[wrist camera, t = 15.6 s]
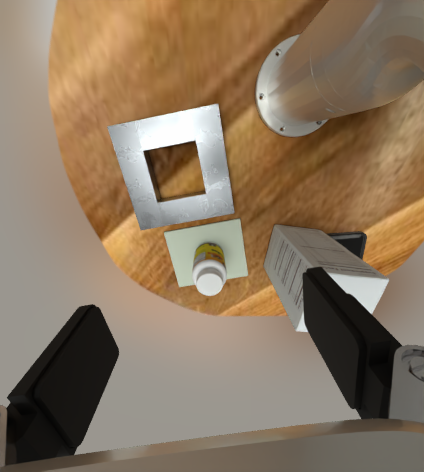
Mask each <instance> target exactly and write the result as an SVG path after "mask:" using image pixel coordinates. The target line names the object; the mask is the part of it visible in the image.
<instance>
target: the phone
mask: <svg viewBox="0 0 424 472" xmlns="http://www.w3.org/2000/svg"><path fill="white" fill-rule="evenodd" d="M327 235H328V236H330V237H331V238H332V239H334V240H335V241H337V242H338V243H339V244H341V245H342V246H343V247H345V248H346V249H347V250H349V251H350V252H351V253H353V254H354V255H356V256H357V257H359V258H360V259H362V258H363V254H364V249H365V244H366V239H367V236H366V234H365V233H363V232H360V231H358V232H344V233H330V234H327Z"/></svg>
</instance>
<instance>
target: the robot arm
mask: <svg viewBox="0 0 424 472" xmlns="http://www.w3.org/2000/svg"><path fill="white" fill-rule="evenodd" d="M275 53H278V57H277V56H276V54H275ZM423 79H424V0H329V1H328V2H327V4H326V5H325V6H324V7H323V8H322V10H321V11H320V12H319V13H318V14H317V16H316V17H315V18H314V19H313V20H312V22H311V23H310V24H309V25H308V26H307V28H306V29H305V30H304V31H303V32H302V34H298V35H295V36H292V37H289V38H287V39H286V40H284V41H282V42H281V43H280V44H278V45H277V46H276V47H275V48H274V49H273V50H272V51H271V53H270V54H269V55H268V56H267V58H266V59H265V61H264V62H263V64H262V66H261V69H260V71H259V73H258V77H257V80H256V86H255V102H256V107H257V111H258V113H259V115H260V118H261V119H262V121H263V122H264V124H265V125H266V126H267V127H268V128H269V129H270V130H272V131H273V132H275V133H276V134H279V135H282V136H286V137H299V136H304V135H307V134H309V133H312V132H314V131H315V130H317V129H318V128H320V127H321V126H322V125H323V124H324V123H326V122H327V120H328V119H330V118H335V117H339V116H344V115H348V114H352V113H357V112H361V111H365V110H369V109H373V108H377V107H380V106H383V105H386V104H388V103H391V102H393V101H394V100H396V99H398V98H400V97H402V96H403V95H405V94H406V93H408V92H409V91H410V90H412V89H413V88H414V87H415V86H417V85H418V84H419V83H420V82H421V81H422V80H423ZM259 96H261V97H262V99H261V100H260V99H259ZM317 121H318V123H316V122H317ZM280 128H282V131H280ZM302 278H303V308H304V323H305V326H306V328H307V330H308V332H309V334H310V336H311V338H312V339H313V341H314V343H315V345H316V347H317V348H318V350H319V352H320V354H321V355H322V358H323V359H324V361H325V363H326V365H327V367H328V368H329V370H330V372H331V374H332V376H333V377H334V380H335V381H336V383H337V385H338V387H339V389H340V390H341V392H342V394H343V396H344V398H345V400H346V401H347V403H348V405H349V406H350V408H352V409H356V410H357V412H358V413H359V415H360V417H361V419H357V420H344V421H335V422H326V423H316V424H307V425H298V426H290V427H282V428H274V429H266V430H258V431H251V432H242V433H234V434H227V435H219V436H211V437H204V438H196V439H189V440H181V441H173V442H166V443H159V444H151V445H144V446H136V447H129V448H122V449H115V450H107V451H100V452H93V453H86V454H79V455H74V454H75V451H76V449H77V447H78V446H79V445H80V444H81V443H82V441H83V439H84V437H85V435H86V432H87V430H88V428H89V425H90V423H91V420H92V418H93V416H94V413H95V411H96V409H97V406H98V404H99V402H100V399H101V397H102V394H103V392H104V390H105V387H106V385H107V382H108V380H109V378H110V375H111V373H112V371H113V368H114V366H115V364H116V361H117V359H118V356H119V349H118V347H117V345H116V342H115V340H114V338H113V336H112V334H111V332H110V330H109V328H108V325H107V323H106V321H105V319H104V317H103V314H102V312H101V310H100V309H99V307H96V306H95V305H93V304H92V305H86V306H81V307H79V308H78V309H77V310H76V311H75V313H74V314H73V315H72V316H71V318H70V319H69V320H68V321H67V323H66V324H65V325H64V326H63V328H62V329H61V330H60V332H59V333H58V334H57V335H56V337H55V338H54V339H53V340H52V341H51V343H50V344H49V345H48V346H47V348H46V349H45V350H44V351H43V353H42V354H41V355H40V357H39V358H38V359H37V360H36V361H35V363H34V364H33V365H32V366H31V368H30V369H29V370H28V372H27V373H26V374H25V375H24V377H23V378H22V379H21V380H20V382H19V383H18V384H17V385H16V387H15V388H14V389H13V390H12V392H11V393H10V394H9V395H8V397H7V398H8V400H9V401H10V402H11V403H10V404H9V406H8V407H7V408H6V407H5V406H3V405H0V472H424V347H422V346H418V345H405V346H402V345H401V344H400V343H399V342H398V341H397V340H396V339H395V338H394V337H393V336H392V335H391V334H390V333H389V332H388V331H387V330H386V329H385V328H384V327H383V326H382V325H381V324H380V323H379V322H378V321H377V319H376V318H375V317H373V315H372V314H371V313H370V312H369V311H368V310H367V309H366V308H365V307H364V306H363V305H362V304H361V303H360V302H359V301H358V300H357V299H356V298H355V297H354V296H353V295H351V294H349V293H348V294H347V293H346V292H345V291H344V290H343V289H342V288H341V287H340V286H339V285H338V284H337V283H336V282H335V281H334V280H333V278H332V277H331V276H330V275H329V274H328V273H327V272H326V271H325V270H324V269H323V268H322V267H320V266H319V267H313V268H307V269H306V272H304V273H303V274H302ZM372 418H373V419H372Z"/></svg>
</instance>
